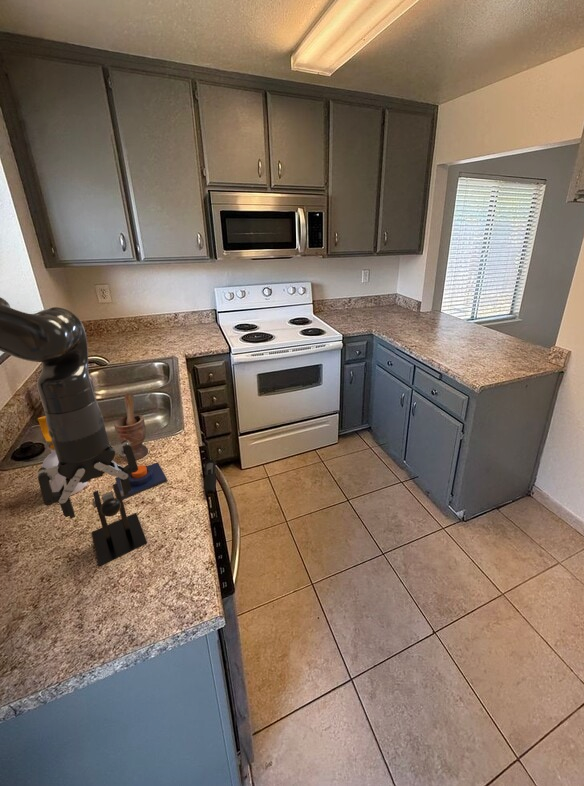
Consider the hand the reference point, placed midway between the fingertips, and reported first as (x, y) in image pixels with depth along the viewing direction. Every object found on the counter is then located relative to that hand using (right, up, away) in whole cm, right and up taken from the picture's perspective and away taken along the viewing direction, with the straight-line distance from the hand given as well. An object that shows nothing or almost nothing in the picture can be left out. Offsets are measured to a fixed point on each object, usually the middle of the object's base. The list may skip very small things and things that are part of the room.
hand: (99, 503), depth 66 cm
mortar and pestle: (-23, -6, +56) cm, 61 cm away
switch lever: (-5, -7, +13) cm, 15 cm away
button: (-13, -8, +39) cm, 42 cm away
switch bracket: (-8, -18, +21) cm, 29 cm away
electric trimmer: (+7, -11, +42) cm, 44 cm away
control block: (-13, -11, +41) cm, 44 cm away
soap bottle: (-34, -12, +40) cm, 54 cm away
